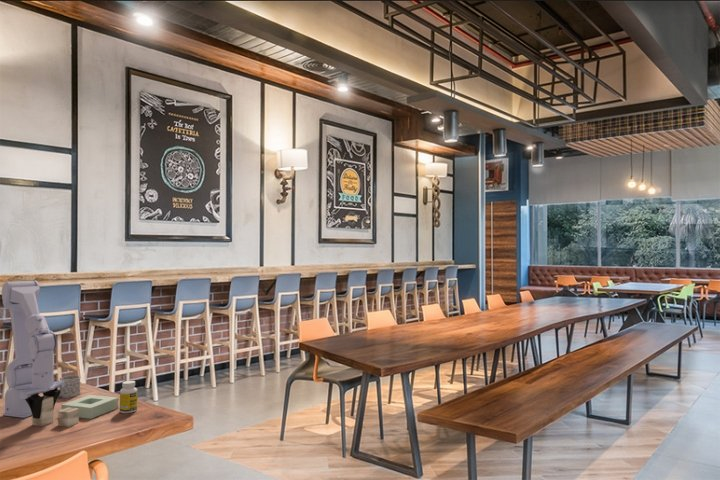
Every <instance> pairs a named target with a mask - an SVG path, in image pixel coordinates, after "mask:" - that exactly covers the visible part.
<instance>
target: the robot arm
mask: <svg viewBox="0 0 720 480" xmlns="http://www.w3.org/2000/svg"><path fill="white" fill-rule="evenodd" d="M1 286H2V287H1V299H2V305H3V308H4V309H7V310H8V311H9V314H10V315H9V316H10V321H11V329H12V332H11V333H12V338H13V340H12V341H13V346H14V356H15V358H14V359H13V360H12V361H10V362H9V363H8V364H7V366H6V377H5V379H6V380H5V381H6V385H7V386H8V387H9V388H8V389H6V391H5V395H4V413H2V414H1V415H2V416H6V417H14V418H22V419H24V418H28V417H30V416H32V415H33V418H37V419H39V418H40V415H41V405H42V401H43V398H44V397H42V396H51V397H53V410H54V409H55V406H56V403H57V400H58V398H59V397H60V396H59V395H60V393H61V390H60V387H61V388H62V387H64V381H60V380H57V381H54V371H55V370H54V366H55V365H54V364H55V363H54V362H55V361H54V357H55V356H54V355H55V354H54V352H55V351H56V349H57V346H58V340H57V339H58V338H57V334H56V333H55V332H53V330H50V328H49V325H48V322H47V320H46V319H47V318H46V317H45V316H44V315H42V314H40V313H41V312H40V309H39V306H38V301H37V300H38V298H39V295H40V293H41V292H40V291H41V288H40V284H39V282H38V281H37V280H35V279H34V280H26V281H25V280H22V281H5V282H4V283H2V285H1ZM40 394H42V396H41V395H40Z"/></svg>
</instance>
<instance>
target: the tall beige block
mask: <svg viewBox="0 0 720 480" xmlns="http://www.w3.org/2000/svg"><path fill="white" fill-rule="evenodd" d="M42 397H44V398H43V401H42V405H41V415H40V418H39V419H37V418H33V415H31V416H32V417H31V419H32V420H31V421H32V422H31V423H32V425H31V426H37V427H44V426H46V425H50V424H52V423H54V409H53V397H51V396H43V395H42Z"/></svg>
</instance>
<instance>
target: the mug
mask: <svg viewBox="0 0 720 480" xmlns="http://www.w3.org/2000/svg"><path fill="white" fill-rule="evenodd" d="M59 381H64V387H62V388H61V387H60V388H59V390H61V393H60V395H59V396H58V397H59V398H61V397H62V399H67V398H68V399H69V398H75V397H79V396H80V395H81V376H80V375H76V374H74V375H73V374H72V375H66V376H61V377H60V378H59Z"/></svg>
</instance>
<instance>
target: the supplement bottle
mask: <svg viewBox="0 0 720 480" xmlns="http://www.w3.org/2000/svg"><path fill="white" fill-rule="evenodd" d="M121 383H122V385H121V386H122V387H121V389H120V390H119V412H120V413H121V414H131V413H132V414H133V413H135V412H136V411H138V388H137V387H135V386H136V381H135V380H126V381H123V382H121Z"/></svg>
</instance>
